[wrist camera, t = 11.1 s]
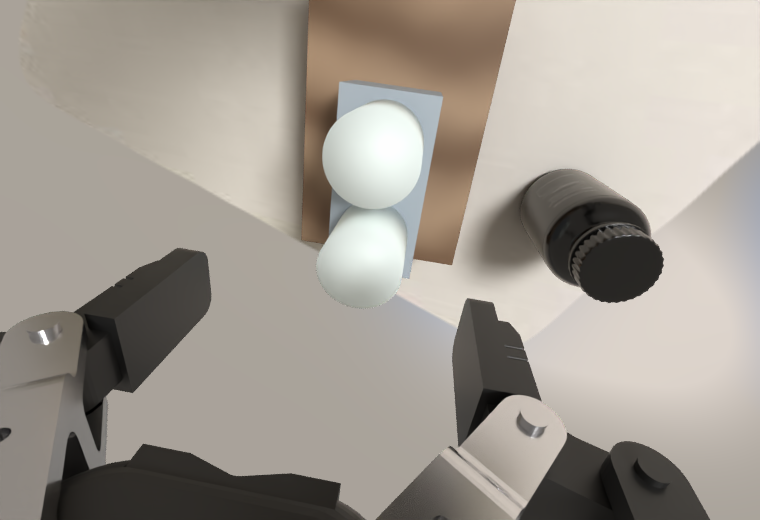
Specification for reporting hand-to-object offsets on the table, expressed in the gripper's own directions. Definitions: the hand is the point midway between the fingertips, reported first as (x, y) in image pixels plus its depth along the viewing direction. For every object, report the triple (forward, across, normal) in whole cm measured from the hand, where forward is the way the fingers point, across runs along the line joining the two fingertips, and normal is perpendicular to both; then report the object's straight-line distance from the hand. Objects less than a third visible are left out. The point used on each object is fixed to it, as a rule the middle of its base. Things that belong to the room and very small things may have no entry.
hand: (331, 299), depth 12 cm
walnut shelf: (+24, 0, -2) cm, 24 cm away
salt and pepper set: (+17, 0, 0) cm, 17 cm away
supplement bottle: (+24, -15, +3) cm, 29 cm away
